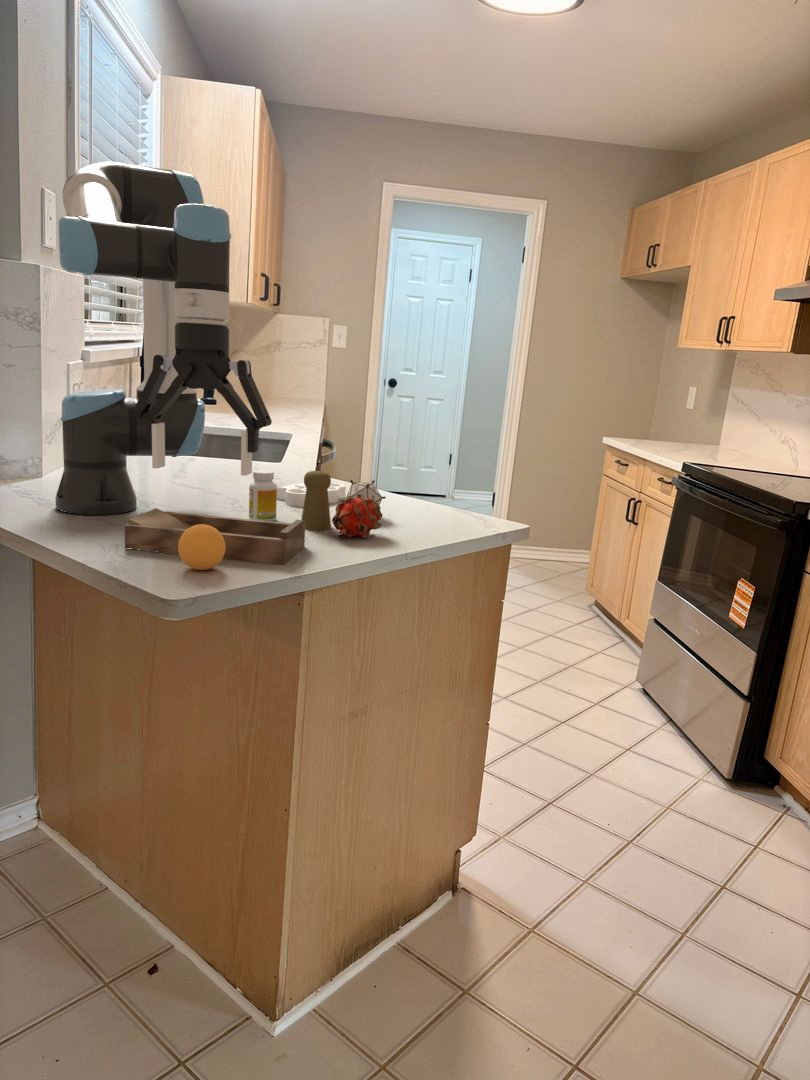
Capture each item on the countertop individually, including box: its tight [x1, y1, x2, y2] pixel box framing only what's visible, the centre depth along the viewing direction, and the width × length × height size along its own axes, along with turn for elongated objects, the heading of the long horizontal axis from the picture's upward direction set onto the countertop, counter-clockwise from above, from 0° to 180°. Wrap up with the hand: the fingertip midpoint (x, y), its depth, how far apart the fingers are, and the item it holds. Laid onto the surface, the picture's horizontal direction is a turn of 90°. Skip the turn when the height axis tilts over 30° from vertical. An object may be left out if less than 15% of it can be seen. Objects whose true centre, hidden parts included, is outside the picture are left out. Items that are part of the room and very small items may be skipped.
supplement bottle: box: [248, 469, 278, 522], centre depth 153 cm, size 5×5×10 cm
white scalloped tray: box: [277, 482, 347, 508], centre depth 178 cm, size 3×18×15 cm
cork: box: [300, 470, 332, 532], centre depth 150 cm, size 6×6×11 cm
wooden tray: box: [124, 508, 306, 566], centre depth 131 cm, size 27×12×5 cm, turn 82°
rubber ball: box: [178, 524, 226, 571], centre depth 117 cm, size 7×7×7 cm
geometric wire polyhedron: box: [340, 479, 387, 506], centre depth 161 cm, size 9×8×10 cm
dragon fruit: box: [331, 495, 383, 540], centre depth 145 cm, size 8×8×12 cm
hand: (202, 471), depth 115 cm, fingers open, 13 cm apart
